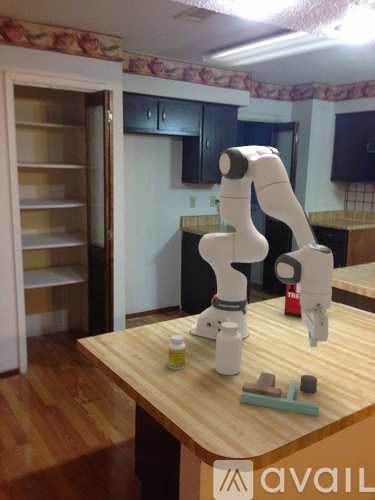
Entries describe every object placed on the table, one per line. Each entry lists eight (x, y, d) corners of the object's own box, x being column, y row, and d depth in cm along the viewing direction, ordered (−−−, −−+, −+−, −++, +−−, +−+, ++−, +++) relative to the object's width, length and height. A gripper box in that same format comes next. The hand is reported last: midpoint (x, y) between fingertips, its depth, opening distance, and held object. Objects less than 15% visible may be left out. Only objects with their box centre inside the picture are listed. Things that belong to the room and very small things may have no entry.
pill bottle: (233, 378, 132) (235, 330, 129) (210, 371, 136) (211, 325, 134) (245, 368, 139) (246, 323, 136) (222, 362, 143) (223, 318, 140)
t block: (242, 399, 120) (242, 386, 119) (251, 381, 130) (251, 370, 130) (278, 406, 117) (279, 393, 116) (285, 388, 127) (285, 376, 126)
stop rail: (240, 401, 118) (241, 393, 118) (249, 383, 129) (249, 375, 129) (318, 416, 112) (318, 407, 111) (320, 395, 123) (320, 387, 122)
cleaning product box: (297, 305, 207) (299, 264, 203) (315, 309, 202) (318, 266, 198) (284, 314, 193) (286, 270, 190) (304, 318, 188) (307, 273, 185)
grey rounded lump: (299, 392, 124) (300, 380, 124) (300, 385, 129) (301, 373, 128) (315, 394, 123) (316, 383, 122) (316, 387, 127) (317, 376, 127)
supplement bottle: (172, 371, 136) (173, 341, 135) (165, 364, 141) (165, 335, 139) (188, 367, 139) (188, 338, 137) (180, 361, 143) (180, 333, 142)
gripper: (335, 310, 118) (332, 359, 120) (318, 292, 138) (316, 334, 140) (311, 309, 118) (308, 358, 120) (298, 291, 139) (296, 333, 141)
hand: (312, 345), depth 131 cm, fingers closed
